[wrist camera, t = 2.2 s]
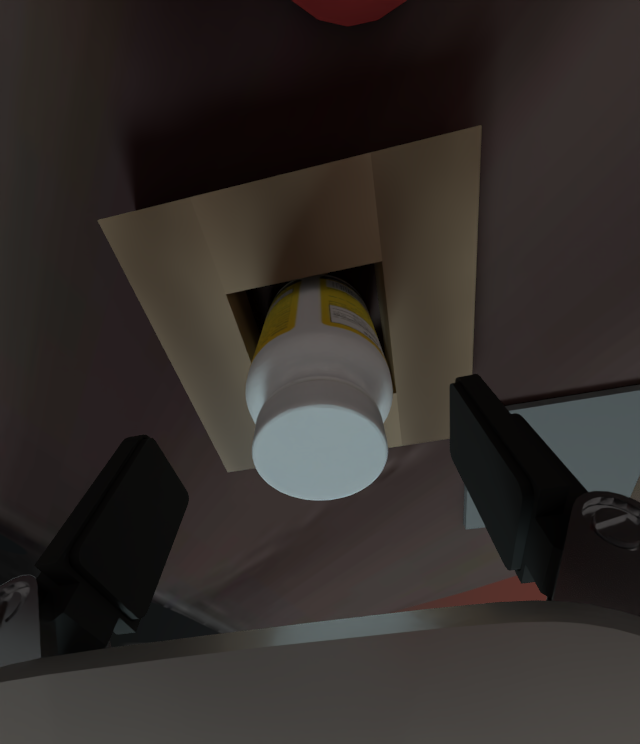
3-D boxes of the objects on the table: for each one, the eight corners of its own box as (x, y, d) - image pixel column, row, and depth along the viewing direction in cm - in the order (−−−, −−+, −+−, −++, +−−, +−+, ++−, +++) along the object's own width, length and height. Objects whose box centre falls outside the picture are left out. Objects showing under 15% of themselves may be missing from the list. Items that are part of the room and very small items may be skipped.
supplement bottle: (276, 368, 19) (245, 520, 11) (259, 276, 16) (199, 386, 8) (369, 361, 19) (408, 510, 11) (368, 266, 16) (420, 369, 8)
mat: (671, 379, 20) (679, 384, 19) (619, 504, 26) (624, 509, 26) (466, 412, 21) (470, 417, 21) (463, 523, 27) (465, 529, 27)
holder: (450, 133, 13) (481, 124, 11) (450, 402, 21) (469, 435, 18) (135, 211, 15) (97, 220, 12) (238, 437, 22) (227, 472, 20)
